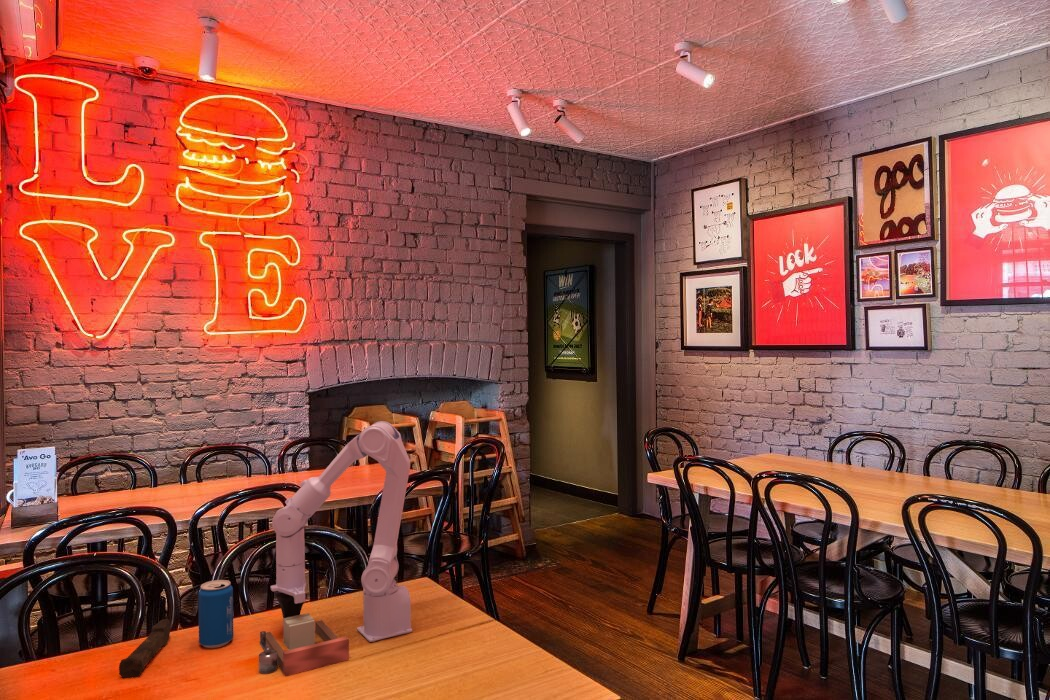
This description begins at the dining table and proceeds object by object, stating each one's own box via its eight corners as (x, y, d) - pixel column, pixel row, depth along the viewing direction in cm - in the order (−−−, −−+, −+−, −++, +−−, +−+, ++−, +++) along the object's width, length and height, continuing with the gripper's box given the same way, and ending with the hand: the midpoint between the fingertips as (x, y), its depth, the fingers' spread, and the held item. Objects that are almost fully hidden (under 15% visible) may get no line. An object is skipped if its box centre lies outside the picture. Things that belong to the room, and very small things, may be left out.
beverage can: (220, 650, 139) (219, 590, 139) (191, 648, 140) (191, 588, 140) (240, 637, 145) (239, 580, 145) (212, 635, 147) (211, 578, 147)
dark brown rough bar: (140, 679, 128) (141, 653, 128) (118, 680, 128) (118, 654, 128) (182, 637, 147) (182, 615, 147) (162, 637, 146) (162, 615, 146)
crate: (308, 637, 145) (307, 612, 145) (315, 645, 141) (314, 619, 141) (283, 642, 143) (283, 617, 143) (289, 651, 139) (289, 625, 139)
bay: (321, 629, 149) (321, 610, 149) (349, 659, 134) (348, 638, 134) (263, 642, 143) (263, 623, 142) (285, 676, 128) (284, 654, 128)
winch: (271, 658, 135) (270, 629, 135) (279, 670, 130) (278, 640, 130) (253, 662, 133) (253, 633, 133) (261, 675, 128) (260, 644, 128)
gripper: (262, 557, 151) (263, 620, 151) (279, 575, 139) (280, 643, 139) (296, 551, 155) (296, 613, 155) (315, 568, 143) (316, 635, 143)
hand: (291, 627), depth 147 cm, fingers closed
